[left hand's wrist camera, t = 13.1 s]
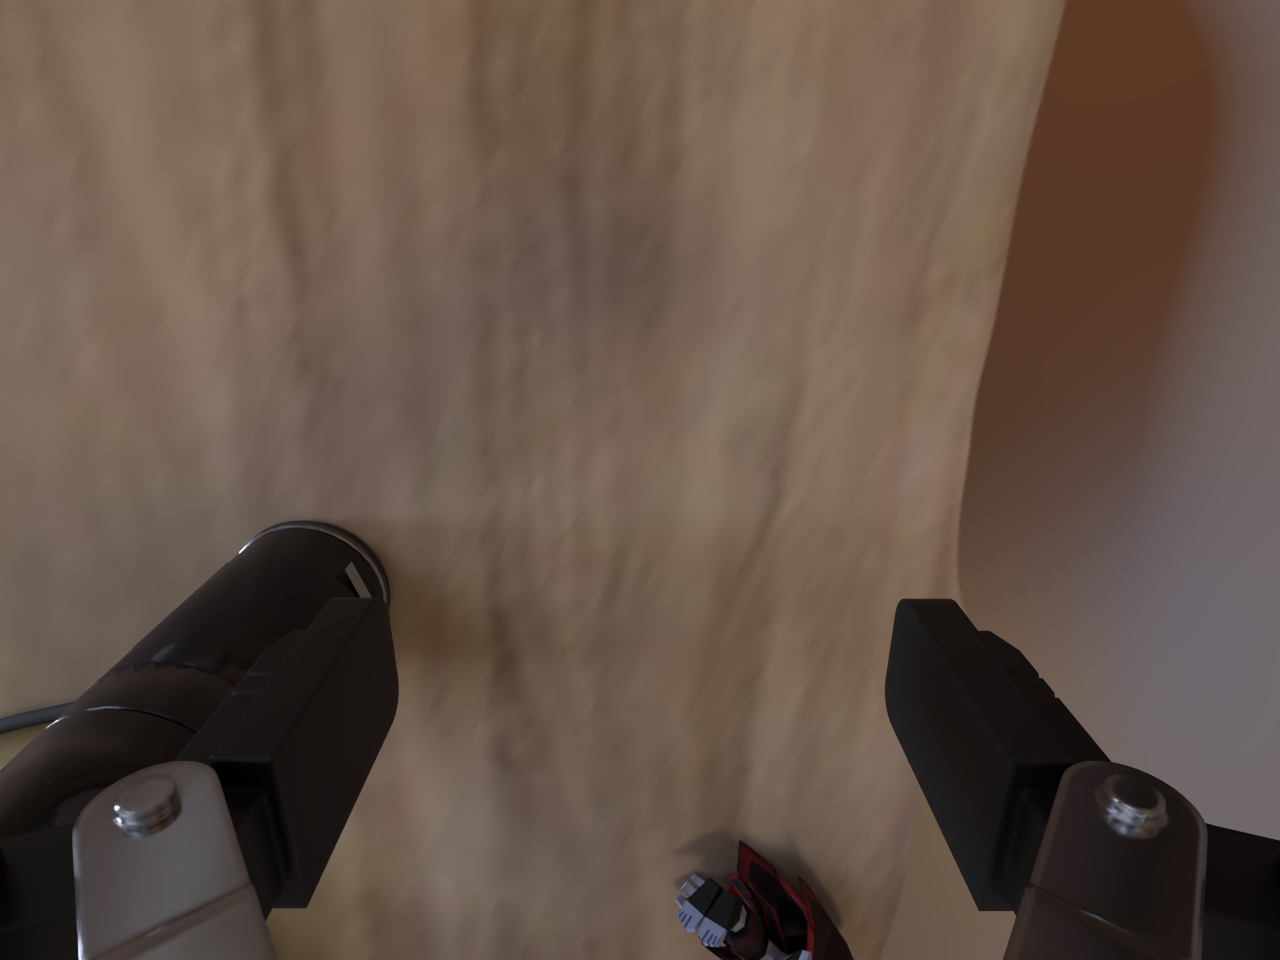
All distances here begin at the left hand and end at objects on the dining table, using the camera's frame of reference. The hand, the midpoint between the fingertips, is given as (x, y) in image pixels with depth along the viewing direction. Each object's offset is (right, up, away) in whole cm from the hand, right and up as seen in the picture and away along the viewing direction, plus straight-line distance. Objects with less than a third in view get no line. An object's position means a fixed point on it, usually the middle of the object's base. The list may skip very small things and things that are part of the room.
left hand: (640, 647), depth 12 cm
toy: (+9, -28, +44) cm, 53 cm away
